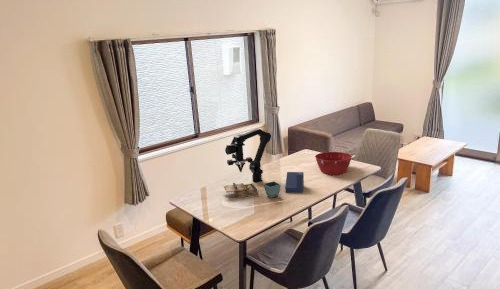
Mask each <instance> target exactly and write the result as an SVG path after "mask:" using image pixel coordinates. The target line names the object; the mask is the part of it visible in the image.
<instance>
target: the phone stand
mask: <svg viewBox="0 0 500 289" xmlns="http://www.w3.org/2000/svg"><path fill="white" fill-rule="evenodd" d="M304 173H305V172H304V171H287V172H286V176H285V177H286V178H285V179H286V180H285V187H284V188H285V189H284V190H285V192H284V193H290V194H291V193H292V194H293V193H294V194H303V193H304V187H305V183H304V182H305V181H304V180H305V179H304V176H305V175H304Z"/></svg>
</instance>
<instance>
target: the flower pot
mask: <svg viewBox="0 0 500 289" xmlns="http://www.w3.org/2000/svg"><path fill="white" fill-rule="evenodd" d="M263 189H264V191H265V194H266V195H267V196H268V197H269V198H276V197H278V196H279V194H280V191H281V183H278V182H276V181H269V182H265V183H263Z"/></svg>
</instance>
